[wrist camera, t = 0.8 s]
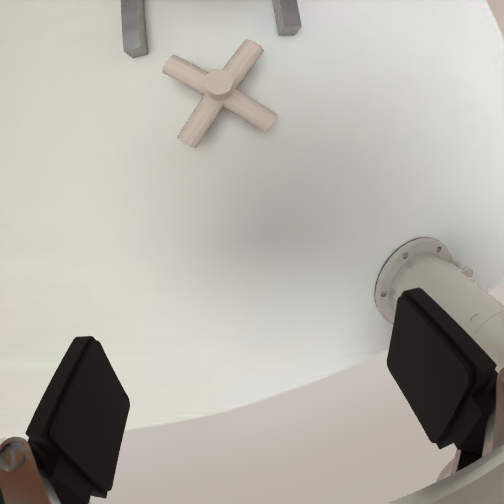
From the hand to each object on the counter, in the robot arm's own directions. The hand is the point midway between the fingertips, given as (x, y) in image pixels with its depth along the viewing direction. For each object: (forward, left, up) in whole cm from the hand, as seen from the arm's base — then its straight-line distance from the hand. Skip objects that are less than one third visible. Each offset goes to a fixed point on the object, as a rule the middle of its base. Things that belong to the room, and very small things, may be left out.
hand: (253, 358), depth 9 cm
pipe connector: (0, -10, -24) cm, 26 cm away
